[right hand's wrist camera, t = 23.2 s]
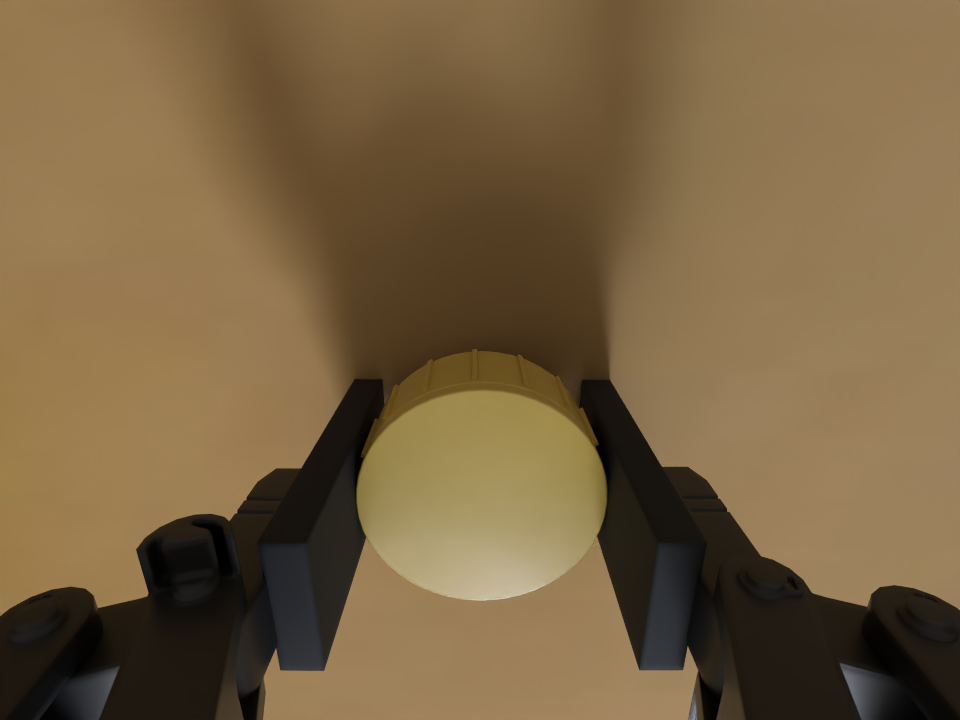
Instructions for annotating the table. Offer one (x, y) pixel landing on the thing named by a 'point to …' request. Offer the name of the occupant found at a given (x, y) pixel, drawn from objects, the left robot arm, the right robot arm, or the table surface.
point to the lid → (481, 478)
